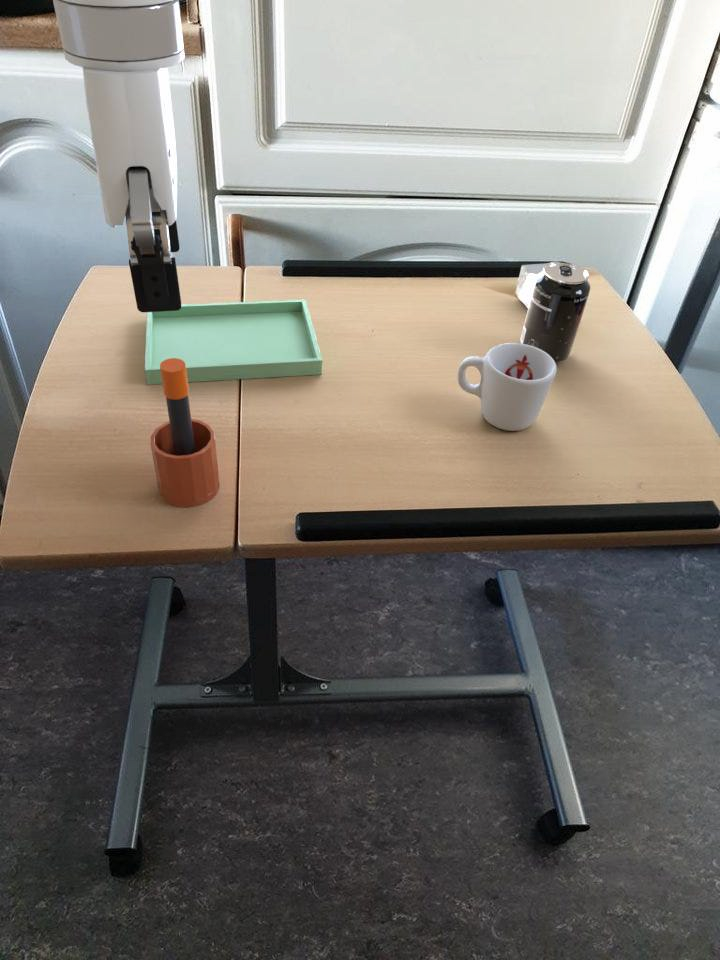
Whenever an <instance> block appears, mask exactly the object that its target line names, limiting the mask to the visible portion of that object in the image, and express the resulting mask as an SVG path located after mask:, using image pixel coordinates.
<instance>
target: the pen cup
mask: <svg viewBox="0 0 720 960" xmlns="http://www.w3.org/2000/svg"><path fill="white" fill-rule="evenodd" d="M191 421H192V429H193V437H194V445H195V453H193V454H190V455H182V456H176V455H175V454H174V448H173V441H172V435H171V428H170V421H169V420H168V421H165V422H164V423H161V425H159V426H157V427H155V428H154V430H153V432H152V433H151V435H150V448H151V449H150V450H151V454H152V455H151V456H152V461H153V466H154V471H155V476H156V481H157V483H156V484H157V487H158V491H159V495H160V496H161V498H162V499H163V500H164V501H165V502H167V503H168V504H170V505H172V506H175V507H178V508H193V507H197V506H201V505H203V504H206V503H207V502H209V501H210V500H212V499H214V497H215V496H216V495H217V493H218V492H219V490H220V473H219V464H218V455H217V445H216V436H215V431H214V429H213V428H212V426H211V425H210V424H208V423H207V422H204V421H202V420H200V419H195V418H191Z"/></svg>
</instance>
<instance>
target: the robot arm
mask: <svg viewBox="0 0 720 960" xmlns="http://www.w3.org/2000/svg"><path fill="white" fill-rule="evenodd" d="M52 2H53V8H54V12H55V17H56V21H57V26H58V31H59V36H60V40H61V46H62V50H63V55H64V59H65V60H66V61H67V62H68V63H70V64H72V65H74V66H77V67H81V68H82V76H83V85H84V86H83V87H84V94H85V102H86V103H85V104H86V110H87V116H88V123H89V130H90V136H91V141H92V147H93V154H94V160H95V165H96V171H97V177H98V184H99V189H100V195H101V202H102V208H103V214H104V220H105V223H106V224H107V225H108V226H109V227H111V228H112V229H117V226H123V225H124V222H125V224H126V234H127V243H128V251H129V259H128V265H129V270H130V276H131V277H130V278H131V282H132V286H133V293H134V299H135V303H136V308H137V310H138V312H140V313H147V312H161V311H177V310H180V309H181V304H182V297H181V292H180V291H181V290H180V283H179V275H178V268H177V262H176V257H174V256H173V257H172V253H178V252H179V250H180V239H179V231H178V224H177V213H178V212H177V210H178V209H177V208H178V207H177V206H178V205H177V204H178V163H177V162H178V161H177V147H176V145H177V144H176V134H175V133H176V132H175V123H174V115H173V114H174V113H173V106H172V105H173V103H172V95H171V86H170V78H169V70H168V69H169V68H170V67H173V66H176V65H178V64H180V63H181V62H183V61H184V60H185V58H186V54H185V48H184V45H185V43H184V34H183V27H182V18H181V17H182V16H181V8H180V7H181V6H180V0H52Z"/></svg>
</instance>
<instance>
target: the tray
mask: <svg viewBox="0 0 720 960" xmlns="http://www.w3.org/2000/svg"><path fill="white" fill-rule="evenodd" d="M145 327H146V329H145V330H146V331H145V349H144V350H145V351H144V354H145V355H144V376H145V382H146V385H147V386H149V385H163V383H162V377H161V370H160V364H161V362H162V361H164V360H166V359H170V358H178V359H181V360H183V361H184V362H185V364H186V372H187V380H188V383H200V382H216V381H217V382H219V381H231V380H249V379H250V380H251V379H267V378H285V377H299V376H300V377H302V376H320V375H323V358H322V354H321V351H320V347H319V344H318V340H317V336H316V332H315V329H314V325H313V322H312V319H311V314H310V311H309V308H308V304H307V301H306V299H288V300H285V299H284V300H262V301H236V302H235V301H233V302H211V303H210V302H209V303H207V302H206V303H181V309H180V310H177V311H161V312H146V326H145Z"/></svg>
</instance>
